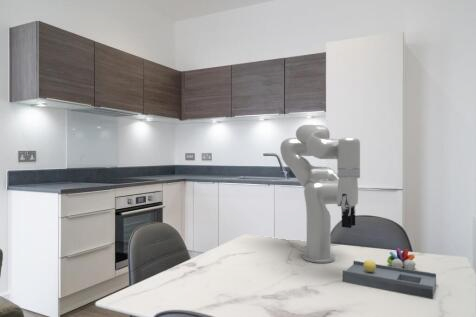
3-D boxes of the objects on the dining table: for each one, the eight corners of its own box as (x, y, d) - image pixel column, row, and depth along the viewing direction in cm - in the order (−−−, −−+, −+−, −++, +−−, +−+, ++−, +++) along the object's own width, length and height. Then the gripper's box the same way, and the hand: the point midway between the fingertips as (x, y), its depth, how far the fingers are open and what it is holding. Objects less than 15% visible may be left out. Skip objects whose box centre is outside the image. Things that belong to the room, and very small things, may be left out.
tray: (342, 281, 114) (342, 270, 114) (354, 270, 126) (354, 260, 126) (432, 298, 100) (432, 286, 100) (436, 284, 111) (436, 273, 112)
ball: (362, 272, 116) (362, 260, 116) (364, 269, 119) (364, 257, 119) (374, 274, 113) (374, 262, 113) (377, 271, 117) (377, 259, 117)
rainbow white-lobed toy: (418, 272, 124) (418, 252, 124) (389, 270, 126) (389, 250, 126) (411, 265, 132) (411, 246, 132) (384, 264, 134) (384, 245, 134)
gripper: (344, 172, 129) (344, 221, 129) (330, 174, 115) (330, 229, 115) (365, 173, 125) (365, 223, 125) (353, 174, 111) (353, 231, 111)
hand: (348, 225), depth 120 cm, fingers open, 4 cm apart
